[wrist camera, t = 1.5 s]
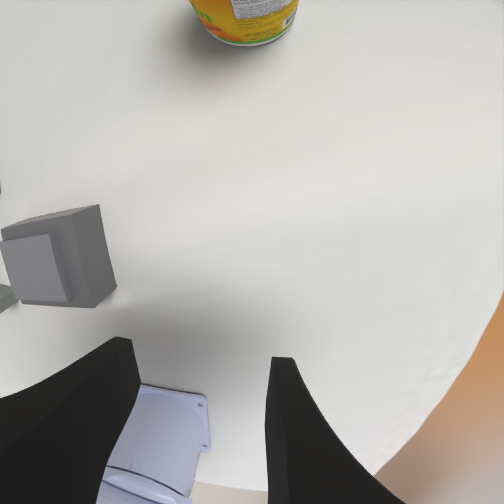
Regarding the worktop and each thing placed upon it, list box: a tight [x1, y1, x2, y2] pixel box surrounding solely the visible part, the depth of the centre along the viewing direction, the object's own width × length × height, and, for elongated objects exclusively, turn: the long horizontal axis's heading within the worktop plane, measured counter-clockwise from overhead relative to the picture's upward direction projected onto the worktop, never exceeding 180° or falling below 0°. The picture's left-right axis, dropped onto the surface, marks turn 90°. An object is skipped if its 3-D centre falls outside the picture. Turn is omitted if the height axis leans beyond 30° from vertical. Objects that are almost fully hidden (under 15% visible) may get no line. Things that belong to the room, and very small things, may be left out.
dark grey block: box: [0, 204, 117, 308], centre depth 17 cm, size 6×8×4 cm
